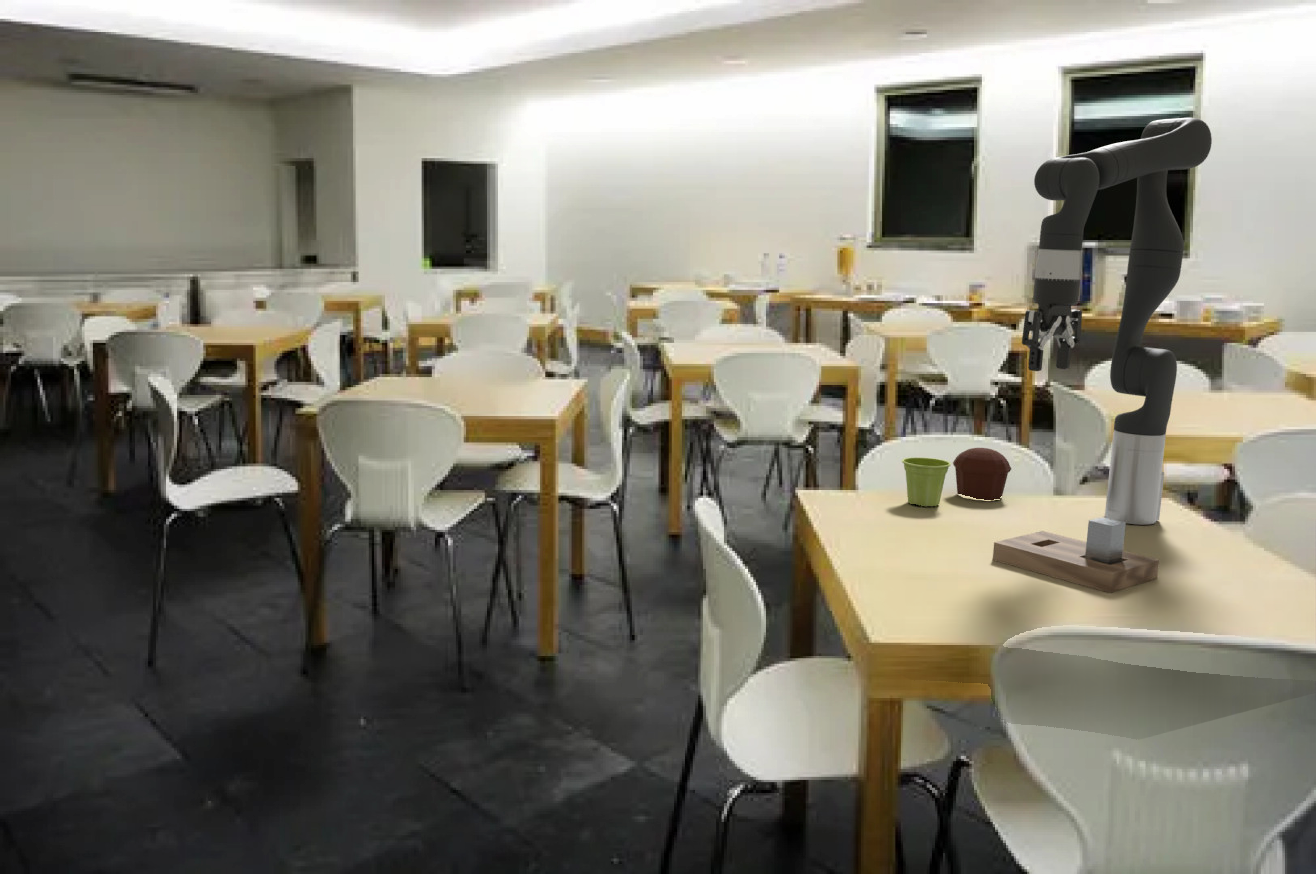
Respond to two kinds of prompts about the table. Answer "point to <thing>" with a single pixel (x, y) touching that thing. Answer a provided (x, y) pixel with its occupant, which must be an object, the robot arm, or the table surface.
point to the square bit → (1105, 540)
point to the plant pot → (925, 480)
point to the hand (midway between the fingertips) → (1048, 369)
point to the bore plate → (1073, 561)
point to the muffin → (981, 473)
